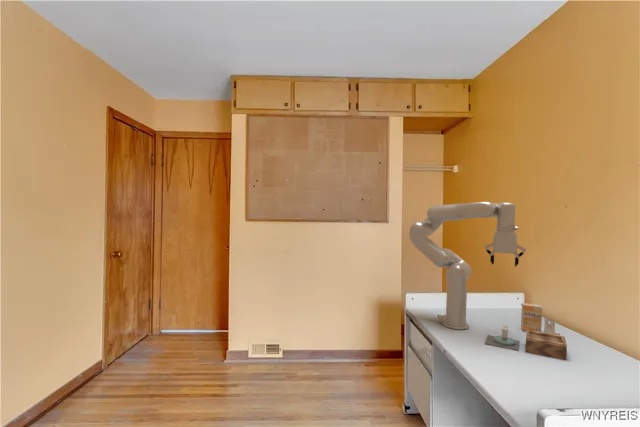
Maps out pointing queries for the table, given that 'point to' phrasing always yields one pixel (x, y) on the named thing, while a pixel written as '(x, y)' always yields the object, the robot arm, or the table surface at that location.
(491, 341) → the mat
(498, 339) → the cover
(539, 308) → the supplement box
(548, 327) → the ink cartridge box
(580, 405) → the table surface
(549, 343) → the tray
